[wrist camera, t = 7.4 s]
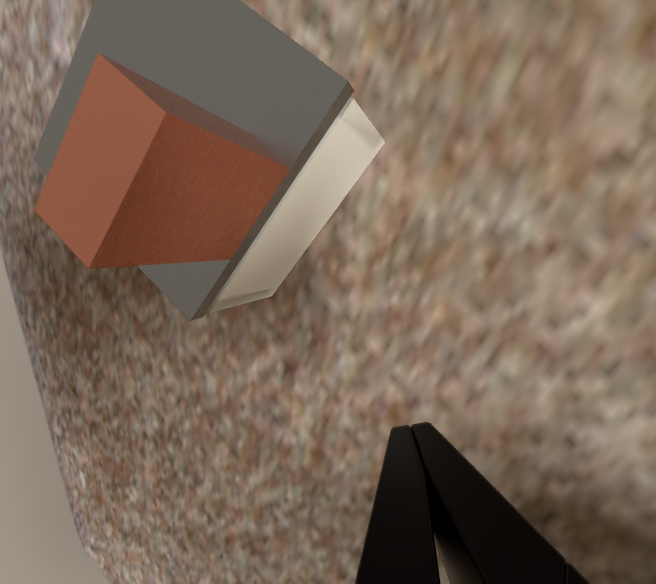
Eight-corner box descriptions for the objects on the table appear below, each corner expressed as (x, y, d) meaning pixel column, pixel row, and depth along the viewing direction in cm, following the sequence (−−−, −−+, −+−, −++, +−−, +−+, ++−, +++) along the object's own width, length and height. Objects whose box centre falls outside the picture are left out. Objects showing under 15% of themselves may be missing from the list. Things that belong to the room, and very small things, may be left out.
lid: (354, 90, 13) (251, -59, 7) (202, 317, 16) (41, 362, 10) (143, -68, 15) (-85, -295, 9) (50, 162, 19) (-160, 120, 12)
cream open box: (385, 142, 19) (353, 99, 13) (271, 296, 22) (208, 313, 17) (230, 23, 21) (147, -57, 15) (149, 180, 24) (58, 161, 19)
